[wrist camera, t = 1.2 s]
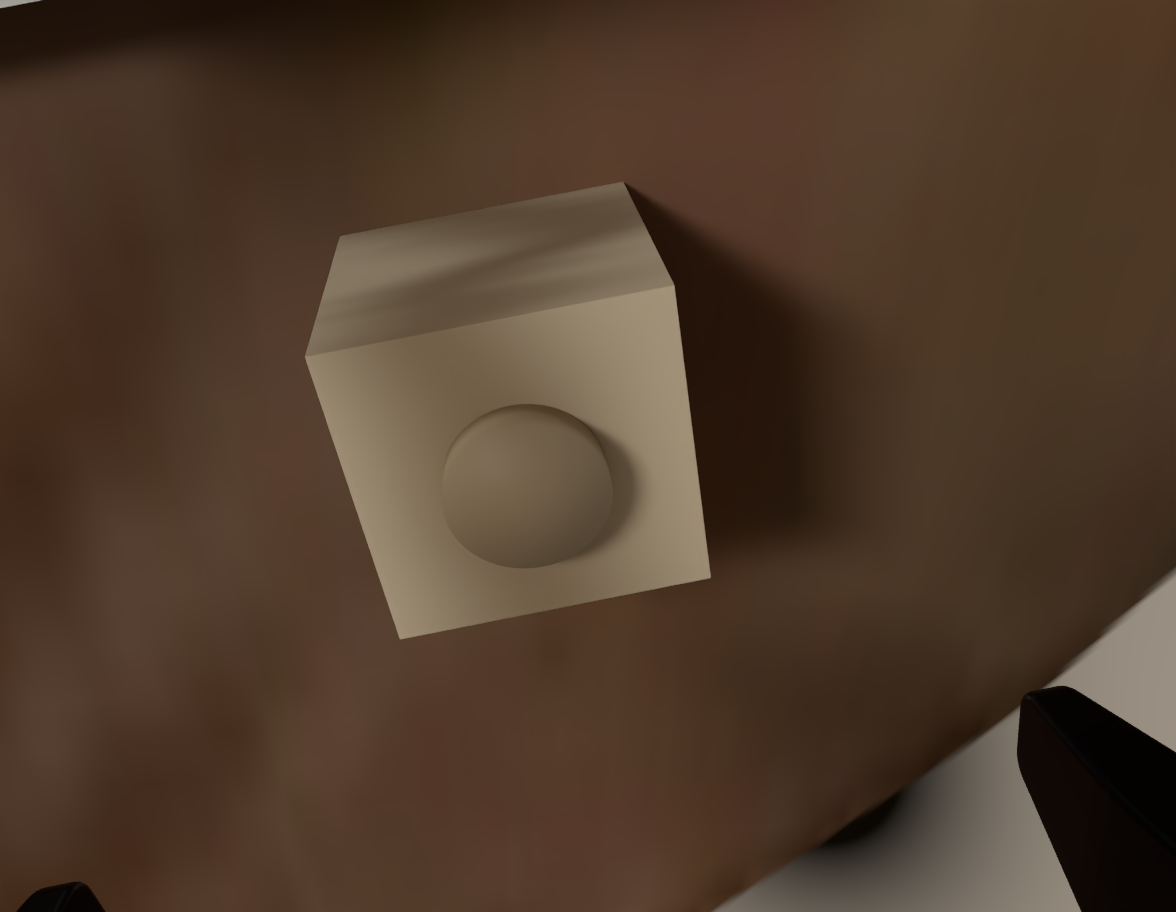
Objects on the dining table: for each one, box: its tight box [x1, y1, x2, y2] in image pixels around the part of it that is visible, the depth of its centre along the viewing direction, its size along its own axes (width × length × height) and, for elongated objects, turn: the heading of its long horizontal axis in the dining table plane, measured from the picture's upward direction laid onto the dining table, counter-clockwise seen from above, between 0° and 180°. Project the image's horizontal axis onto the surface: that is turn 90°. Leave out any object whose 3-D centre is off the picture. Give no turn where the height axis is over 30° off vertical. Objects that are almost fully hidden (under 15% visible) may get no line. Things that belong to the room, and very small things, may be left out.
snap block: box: [305, 182, 711, 639], centre depth 17 cm, size 5×5×6 cm
